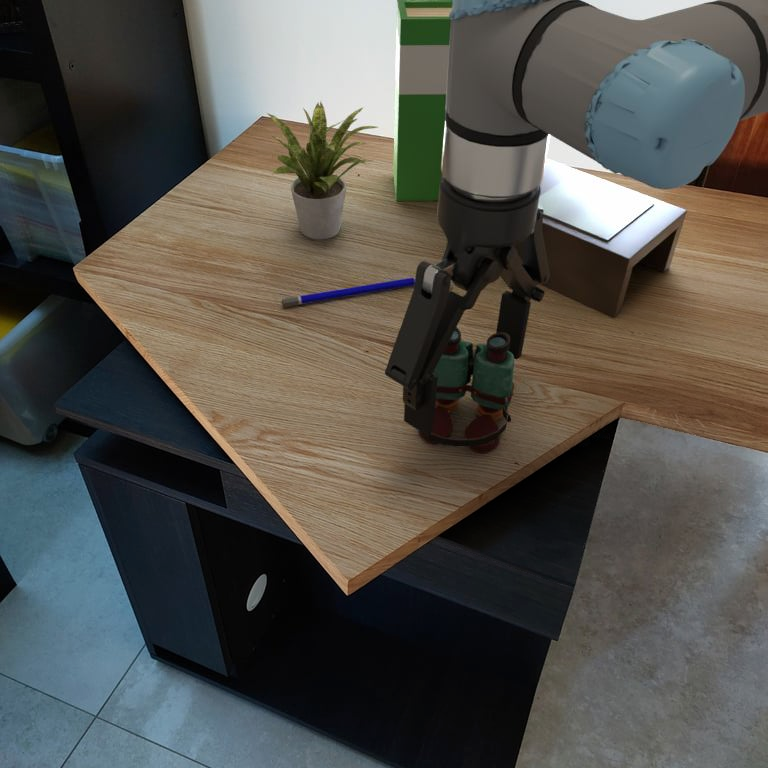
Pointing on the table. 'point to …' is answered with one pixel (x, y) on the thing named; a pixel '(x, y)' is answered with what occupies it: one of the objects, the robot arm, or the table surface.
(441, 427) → the binoculars
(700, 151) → the robot arm
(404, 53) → the hardback book
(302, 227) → the house plant
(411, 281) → the pencil
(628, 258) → the shelf
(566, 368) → the table surface
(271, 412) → the table surface
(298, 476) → the table surface
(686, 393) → the table surface
